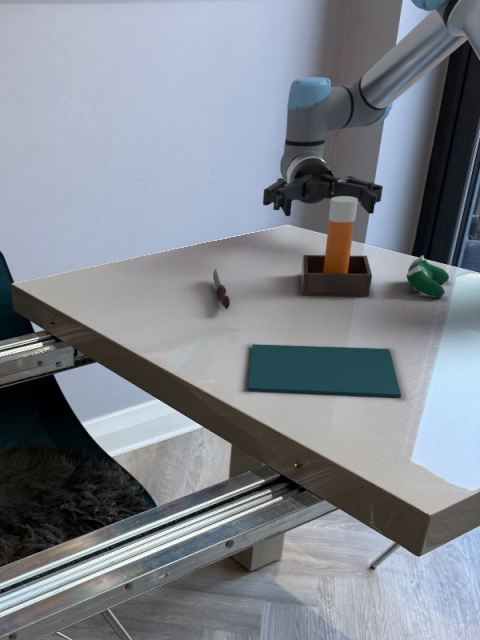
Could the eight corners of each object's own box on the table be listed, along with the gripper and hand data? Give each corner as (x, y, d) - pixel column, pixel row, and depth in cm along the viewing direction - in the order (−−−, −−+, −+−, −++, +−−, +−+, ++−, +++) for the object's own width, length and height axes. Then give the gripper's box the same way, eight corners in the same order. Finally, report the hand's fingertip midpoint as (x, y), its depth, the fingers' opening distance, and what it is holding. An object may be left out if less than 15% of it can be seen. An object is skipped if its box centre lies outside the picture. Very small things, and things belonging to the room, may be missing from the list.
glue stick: (346, 279, 129) (357, 196, 121) (347, 287, 125) (358, 202, 118) (320, 278, 129) (330, 196, 122) (321, 286, 126) (331, 202, 119)
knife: (208, 279, 133) (209, 261, 132) (217, 278, 133) (218, 261, 131) (221, 317, 118) (222, 298, 116) (231, 317, 118) (232, 298, 116)
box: (363, 276, 131) (366, 255, 129) (368, 296, 123) (372, 274, 121) (301, 275, 133) (303, 254, 131) (301, 295, 125) (304, 273, 123)
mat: (388, 351, 105) (389, 348, 105) (400, 397, 94) (401, 394, 93) (252, 346, 108) (252, 344, 108) (247, 390, 97) (248, 387, 97)
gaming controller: (430, 291, 128) (407, 263, 128) (451, 276, 126) (428, 247, 125) (424, 310, 122) (400, 280, 121) (446, 294, 119) (421, 264, 118)
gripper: (374, 197, 148) (403, 227, 131) (241, 201, 150) (252, 231, 133) (380, 154, 144) (411, 179, 127) (244, 159, 146) (255, 184, 129)
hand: (330, 206), depth 130 cm, fingers open, 13 cm apart
